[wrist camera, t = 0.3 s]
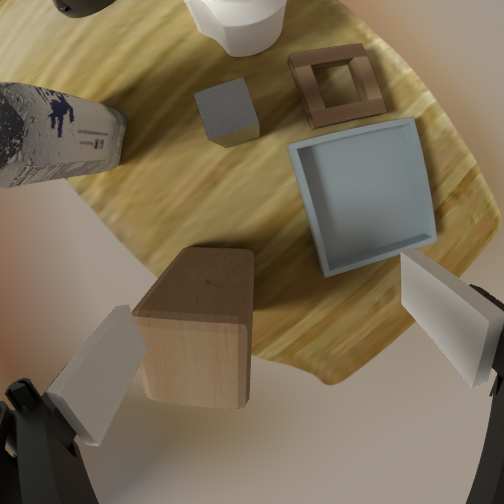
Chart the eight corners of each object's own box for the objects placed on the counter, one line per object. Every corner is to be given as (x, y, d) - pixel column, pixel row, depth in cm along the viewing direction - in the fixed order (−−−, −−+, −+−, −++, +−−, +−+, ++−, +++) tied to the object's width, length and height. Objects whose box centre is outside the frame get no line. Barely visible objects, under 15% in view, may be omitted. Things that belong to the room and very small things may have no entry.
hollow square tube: (287, 62, 33) (289, 54, 30) (355, 50, 32) (361, 43, 29) (311, 129, 36) (315, 127, 33) (378, 115, 35) (387, 112, 32)
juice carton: (124, 174, 38) (-32, 205, 12) (67, 165, 37) (-81, 190, 12) (137, 111, 35) (-12, 68, 9) (78, 108, 35) (-68, 88, 9)
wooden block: (254, 247, 40) (251, 322, 21) (252, 312, 43) (248, 413, 24) (182, 244, 41) (123, 313, 22) (185, 309, 44) (143, 402, 24)
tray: (286, 145, 36) (288, 144, 34) (403, 119, 35) (413, 116, 32) (320, 270, 41) (325, 277, 38) (427, 235, 39) (437, 241, 36)
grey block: (216, 117, 36) (193, 93, 22) (248, 106, 35) (243, 77, 22) (226, 148, 37) (208, 139, 23) (259, 137, 36) (259, 123, 23)
